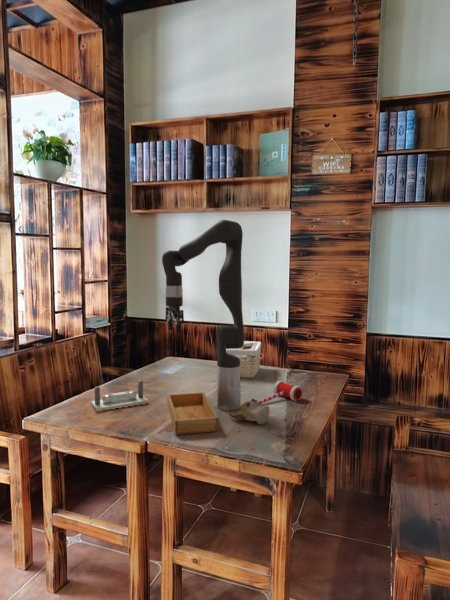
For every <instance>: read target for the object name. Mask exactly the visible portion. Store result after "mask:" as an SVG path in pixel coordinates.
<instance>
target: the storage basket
mask: <svg viewBox="0 0 450 600" xmlns="http://www.w3.org/2000/svg"><path fill="white" fill-rule="evenodd" d="M244 347H245V349H244ZM246 347H247V348H246ZM248 347H249V348H248ZM261 351H262V342H261V341H256V340H254V341H252V340H251V341H250V340H244V345H243V347H242V348H234V349H226V352H227V353H228V354H230V355H233V356H236V357H238V358H239V359H240V378H243V379H244V378H246V379H250V378H251V379H253V378H255V376H256V375H257V374H258V371H259V369H260V365H261V364H260V362H261Z"/></svg>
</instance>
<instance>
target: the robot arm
mask: <svg viewBox="0 0 450 600" xmlns="http://www.w3.org/2000/svg"><path fill="white" fill-rule="evenodd" d="M219 243H221V244H224V245H225V258H224V262H223V264H222V267H221V269H220V271H219V276H218V294H219V296H220V299H222V301H223V302H224V304H225V306H226V307H227V308H228V310H229V312H230V314H231V316H232V320H233V325H219V326H218V327H217V328H216V335H215V337H216V359H217V360H216V362H217V363H216V364H217V365H216V366H217V367H216V368H217V370H216V371H217V372H216V375H217V376H216V384H217V386H216V387H217V388H216V398H217V399H216V405H217V406H216V407H217V408H218V409H220V410H224V411H228V412H229V411H234V410H239V409H240V410H241V406H242V404H241V403H242V402H241V397H242V396H241V395H242V393H241V392H242V391H241V388H242V386H241V377H240V359H239V358H238V357H236V356H233V355H230V354H228V353H227V352H226V349H234V348H242V347H243V348H244V346H243V345H244V341H245V330H244V317H243V300H242V299H243V281H242V280H243V279H242V246H243V228H242V226H241V225H240V222H236V221H234V220H229V219H220V220H218V221H217V222H215V223H214V224H213V225H212V226H211V227H209V228H207V229H206V230H205V231H204V232H203V233H201V234H199V236H197V237H196V238H194V239H193V238H192V240H190V241H188V242H185V243H184V244H182V245H181V246H179V248H178V250H166V251H165V252H163V254H162V256H161V264H162V267H163V271H164V273H165V285H166V286H165V306H166V307H165V321H166V322H167V330H168V331H173V330H174V322H175V333H176V334H181V333H182V325H183V324H184V323H185V322H184V319H185V317H184V309H181V308H180V307H183V304H184V302H183V301H184V299H183V298H184V297H183V296H184V295H183V292H184V291H183V275H182V273H181V272H179V271H177V269H176V267H182V266H184V265H185V264H186V263H189V261H190V260H192V259H195V258H197V257H199V256H200V255H202V254H203V253H204V252H205V251H206V249H207V248H209V247H210V246H213V245H217V244H219Z"/></svg>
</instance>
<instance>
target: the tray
mask: <svg viewBox="0 0 450 600" xmlns="http://www.w3.org/2000/svg"><path fill="white" fill-rule="evenodd" d="M166 397H167V408H169V409H168V412H170V413H169V416H170V419H171V422H172V426H173V430H174V434H175V435H178V436H179V435H188V434H199V433H208V432H209V433H210V432H211V433H212V432H218V431H219V417H218V415H217V413H216V411H215V409H214V407H213V406H212V404H211V402H210V401H209V399H208V397H207V395H206V393H205V392H204V391H203V392H191V393H190V392H188V393H187V392H186V393H175V394H174V393H173V394H167V396H166Z"/></svg>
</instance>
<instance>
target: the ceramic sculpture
mask: <svg viewBox="0 0 450 600" xmlns="http://www.w3.org/2000/svg"><path fill="white" fill-rule="evenodd" d="M228 415H229V416H230V417H231V418H234V419H236V420H239V421H242V420H245V421H247V422H256V423H257V424H258V425H264V424H266V423H267V421H268V420H269V416H270V406H269V405H266V406H265V405H264V406H263V405H261V404H259V402H258V400H256V399H255V398H251V400H248V401H245V402H243V404H241V408H240V410H239V411H236V412H233V413H228Z"/></svg>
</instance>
